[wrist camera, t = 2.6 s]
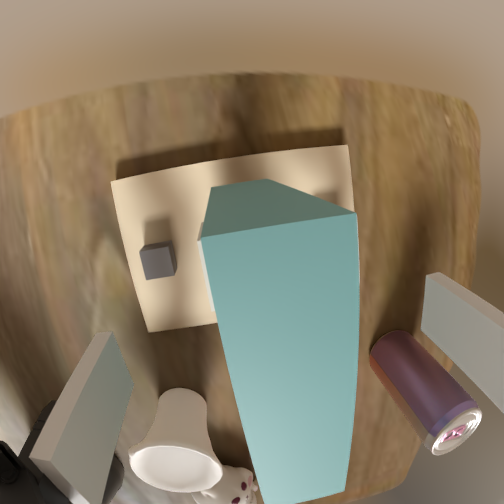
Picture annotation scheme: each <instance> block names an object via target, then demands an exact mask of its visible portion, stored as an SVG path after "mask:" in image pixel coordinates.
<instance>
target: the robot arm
mask: <svg viewBox="0 0 504 504" xmlns="http://www.w3.org/2000/svg"><path fill="white" fill-rule="evenodd" d="M421 330H422V331H423V332H424V333H425V334H426V335H427V336H428V337H429V338H430V339H431V340H432V341H433V342H434V343H435V344H436V345H437V346H438V347H439V348H440V349H441V350H442V351H443V352H444V353H445V354H446V355H447V356H448V357H449V358H450V359H451V360H452V361H453V362H454V363H456V365H458V367H459V368H461V370H462V371H463V372H464V373H465V374H466V375H467V376H468V377H469V378H471V380H472V381H473V382H474V383H475V384H476V385H477V386H478V387H479V388H480V389H481V390H482V391H483V392H484V393H485V394H486V395H487V396H488V397H489V398H490V400H491V401H492V402H493V403H494V404H495V405H496V406H497V407H498V408H499V409H500V410H501V411H502V412H503V414H504V313H503V312H501V311H500V310H498V309H497V308H495V307H494V306H492V305H491V304H489V303H488V302H486V301H484V300H483V299H481V298H480V297H478V296H477V295H475V294H474V293H472V292H471V291H469V290H468V289H466V288H464V287H463V286H461V285H460V284H458V283H456V282H455V281H453V280H452V279H450V278H448V277H447V276H445V275H443V274H442V273H440V272H437V273H433V274H429V275H426V283H425V295H424V305H423V314H422V323H421ZM133 386H134V383H133V381H132V378H131V376H130V374H129V371H128V369H127V367H126V364H125V362H124V359H123V357H122V354H121V352H120V349H119V347H118V344H117V342H116V339H115V336H114V334H113V331H110V332H101V333H96V334H95V336H94V338H93V339H92V341H91V343H90V344H89V346H88V347H87V349H86V351H85V353H84V354H83V356H82V358H81V359H80V361H79V363H78V364H77V366H76V368H75V370H74V371H73V373H72V375H71V377H70V378H69V380H68V382H67V384H66V386H65V387H64V389H63V391H62V393H61V395H60V396H59V398H58V400H57V401H51V402H50V403H49V404H48V405H47V406H46V407H45V408H44V409H43V410H42V412H41V414H40V416H39V417H38V419H37V422H36V423H35V425H34V427H33V430H31V432H30V434H29V436H28V438H27V440H26V442H25V444H24V446H23V448H22V450H21V452H20V454H19V456H18V457H17V455H16V454H15V453H14V452H13V451H12V449H11V448H10V447H9V446H8V444H7V443H5V442H3V441H0V504H109V503H110V502H111V500H112V499H113V497H114V496H115V494H116V493H117V491H118V490H119V489H120V488H121V486H122V482H123V477H124V469H123V466H122V464H121V463H120V461H119V460H118V459H117V458H116V456H115V455H114V451H115V447H116V444H117V440H118V437H119V433H120V429H121V426H122V422H123V419H124V416H125V412H126V409H127V405H128V402H129V399H130V396H131V392H132V389H133Z"/></svg>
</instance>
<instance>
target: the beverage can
mask: <svg viewBox="0 0 504 504" xmlns="http://www.w3.org/2000/svg"><path fill="white" fill-rule="evenodd" d="M370 366H371V368H372V369H373V371H374V372H375V374H376V375H377V377H378V378H379V379H380V381H381V382H382V384H383V385H384V387H385V388H386V389H387V391H388V392H389V394H390V395H391V397H392V398H393V400H394V401H395V402H396V404H397V405H398V407H399V408H400V410H401V411H402V413H403V414H404V416H405V417H406V419H407V420H408V421H409V423H410V424H411V426H412V427H413V429H414V430H415V432H416V433H417V435H418V436H419V438H420V439H421V441H422V442H423V444H424V445H425V447H426V448H428V449H429V450H431V452H432V453H433V454H434V455H442V454H445V453H447V452H449V451H451V450H453V449H455V448H456V447H458V446H459V445H460V444H461V443H463V442H464V441H465V440H466V439H467V438H468V437H469V436H470V435H471V434H472V433H473V432H474V430H475V429H476V428H477V426H478V424H479V423H480V420H481V417H482V412H481V410H480V409H479V408H478V405H477V403H476V401H475V400H474V399H473V398H472V397H471V396H470V395H469V394H468V393H467V392H466V391H465V390H464V389H463V388H462V386H460V384H459V383H458V382H457V381H456V380H455V379H454V378H453V377H452V376H451V375H450V374H449V373H448V372H447V371H446V370H445V369H444V368H443V367H442V366H441V365H440V364H439V363H438V362H437V361H436V360H435V359H434V358H433V357H432V356H431V355H430V354H429V353H428V352H427V350H426V349H425V348H424V347H423V346H422V345H421V344H420V343H418V342H417V341H416V340H415V339H414V338H413V337H412V336H411V335H410V334H409V333H408V332H406V331H402V330H396V331H391V332H388V333H386V334H385V335H383V336H382V337H380V338H379V339H378V340H377V342H376V343H375V344H374V346H373V348H372V350H371V353H370Z"/></svg>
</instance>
